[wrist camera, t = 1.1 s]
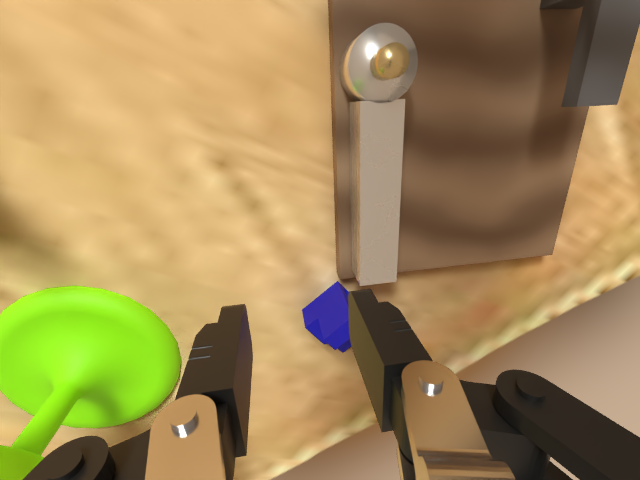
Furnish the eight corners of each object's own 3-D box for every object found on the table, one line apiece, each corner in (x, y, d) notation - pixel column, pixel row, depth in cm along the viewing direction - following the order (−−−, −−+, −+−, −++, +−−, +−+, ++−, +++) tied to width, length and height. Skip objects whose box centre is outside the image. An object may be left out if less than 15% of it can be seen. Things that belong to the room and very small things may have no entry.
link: (338, 34, 22) (356, 15, 17) (401, 33, 22) (434, 13, 18) (343, 269, 28) (357, 299, 24) (391, 264, 29) (414, 292, 24)
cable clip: (302, 308, 31) (309, 350, 26) (337, 279, 31) (352, 316, 25) (372, 372, 36) (391, 420, 30) (404, 349, 35) (430, 393, 30)
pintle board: (327, -35, 21) (349, -91, 16) (605, -35, 24) (715, -82, 18) (336, 271, 30) (353, 310, 24) (540, 248, 33) (599, 278, 27)
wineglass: (44, 440, 32) (-190, 783, 16) (-56, 310, 26) (-611, 653, 10) (203, 401, 33) (138, 683, 17) (143, 267, 27) (-49, 507, 11)
